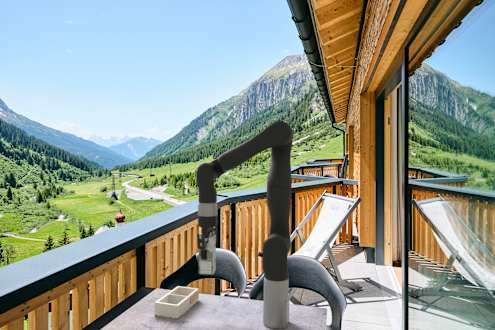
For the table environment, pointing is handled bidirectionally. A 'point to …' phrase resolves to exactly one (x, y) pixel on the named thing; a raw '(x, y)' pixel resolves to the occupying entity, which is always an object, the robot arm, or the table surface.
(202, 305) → the table surface
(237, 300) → the table surface
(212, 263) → the syrup box
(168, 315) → the box
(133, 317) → the table surface
